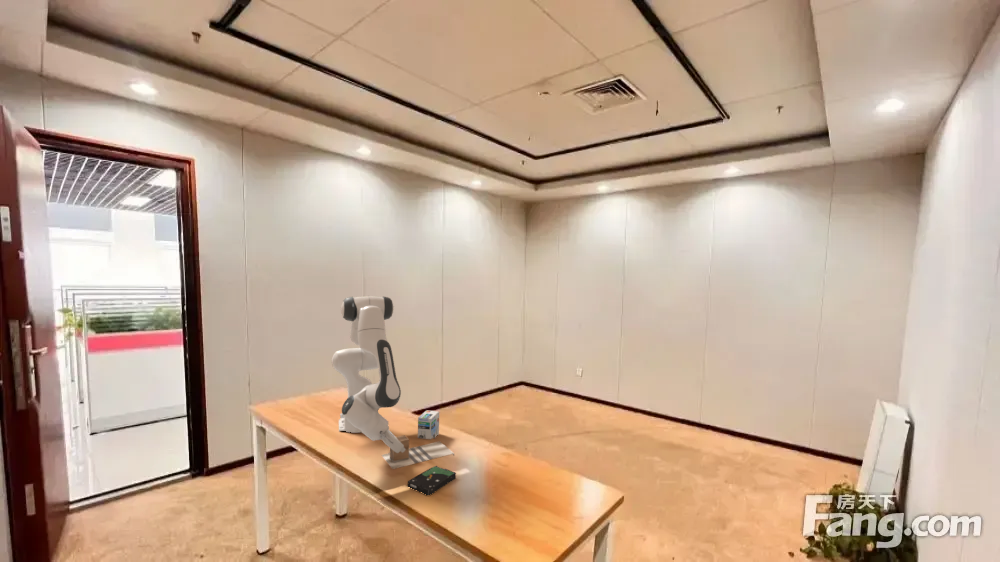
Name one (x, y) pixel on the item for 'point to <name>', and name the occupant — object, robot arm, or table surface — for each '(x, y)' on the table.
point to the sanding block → (400, 456)
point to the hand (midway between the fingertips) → (401, 447)
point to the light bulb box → (428, 425)
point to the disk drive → (431, 480)
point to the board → (420, 454)
